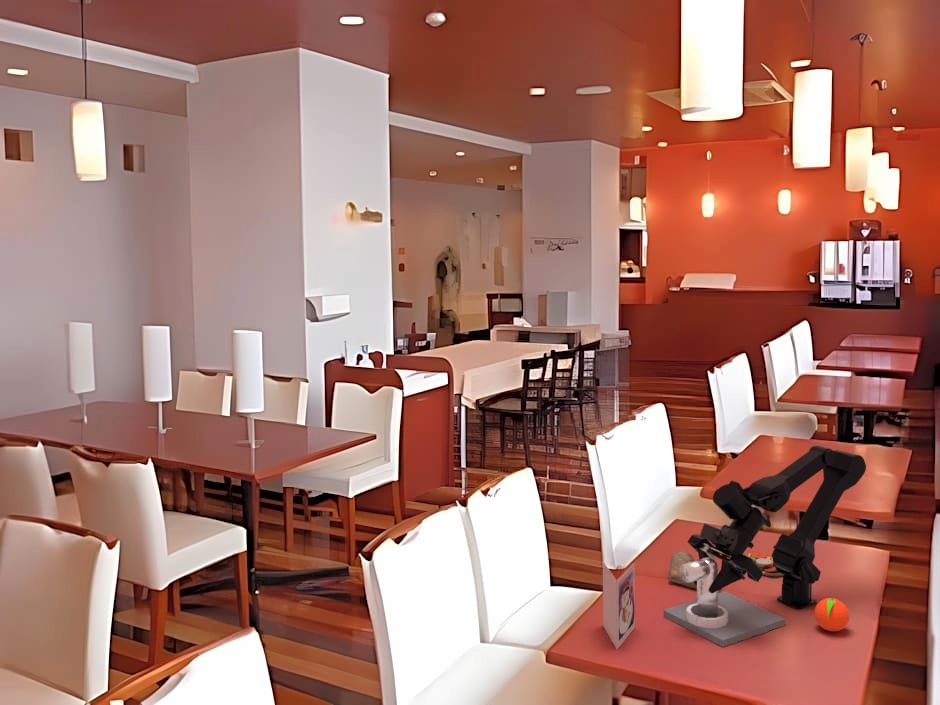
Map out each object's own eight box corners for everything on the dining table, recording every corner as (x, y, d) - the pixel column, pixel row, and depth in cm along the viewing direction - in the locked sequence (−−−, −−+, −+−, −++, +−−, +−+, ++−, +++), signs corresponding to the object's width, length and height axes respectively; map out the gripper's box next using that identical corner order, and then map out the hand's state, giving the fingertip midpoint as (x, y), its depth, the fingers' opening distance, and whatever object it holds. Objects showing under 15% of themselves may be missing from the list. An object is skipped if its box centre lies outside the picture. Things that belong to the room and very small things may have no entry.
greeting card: (620, 650, 181) (620, 581, 179) (587, 643, 185) (587, 575, 183) (638, 628, 191) (638, 563, 189) (606, 621, 195) (606, 557, 193)
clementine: (845, 641, 182) (846, 609, 181) (810, 634, 186) (811, 603, 185) (851, 627, 189) (852, 595, 188) (817, 620, 192) (818, 589, 192)
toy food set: (801, 565, 225) (801, 553, 225) (789, 582, 214) (790, 570, 214) (749, 556, 232) (749, 544, 232) (735, 573, 221) (735, 560, 221)
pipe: (715, 580, 205) (734, 561, 212) (654, 563, 216) (674, 545, 223) (717, 604, 206) (736, 584, 213) (656, 586, 218) (676, 568, 225)
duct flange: (724, 597, 206) (724, 583, 205) (785, 625, 190) (785, 610, 190) (663, 616, 197) (663, 601, 196) (722, 647, 181) (722, 631, 181)
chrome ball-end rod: (708, 609, 194) (708, 552, 192) (722, 617, 190) (722, 559, 188) (679, 617, 190) (678, 559, 188) (692, 625, 186) (692, 566, 184)
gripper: (693, 499, 198) (654, 554, 195) (752, 522, 181) (711, 583, 178) (720, 526, 202) (682, 581, 199) (780, 551, 185) (740, 611, 182)
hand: (702, 588), depth 189 cm, fingers closed on chrome ball-end rod, 4 cm apart
